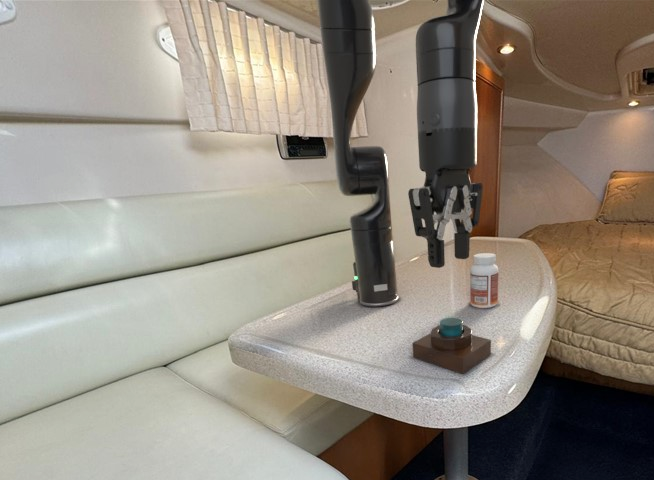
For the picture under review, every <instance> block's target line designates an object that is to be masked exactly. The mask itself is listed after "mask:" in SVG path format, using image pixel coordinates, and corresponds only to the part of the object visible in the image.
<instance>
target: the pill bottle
mask: <svg viewBox="0 0 654 480" xmlns="http://www.w3.org/2000/svg"><path fill="white" fill-rule="evenodd" d="M496 259H497V256H496V254H495V253H489V252H484V253H483V252H482V253H477V254H474V255H473V263H474V264H473V265H472V266H471V267H470V270H469V273H470V274H469V280H470V282H469V289H470V290H469V292H470V293H469V295H470V296H469V297H470V299H469V302H470V305H471V306H472V307H475V308H478V309H488V308H493V307H496V306H497V305H498V303H499V266H497V264H495V263H496V261H497V260H496Z"/></svg>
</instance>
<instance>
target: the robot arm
mask: <svg viewBox="0 0 654 480" xmlns="http://www.w3.org/2000/svg"><path fill="white" fill-rule="evenodd" d="M446 1H447V6H446V12H445V15H439V16H436V17H433V18H432V17H431V18H429V19H427V20H425V21H424V22H423V23H422V24H420V25H419V27H418V29H417V30H416V35H415V63H416V64H415V65H416V83H417V96H416V124H417V125H416V126H417V144H418V145H417V146H418V163H419V164H418V165H419V170H420V171H421V172H423V173H425V178H424V183H423V186H421V187H415V188H409V190H408V192H407V193H408V195H407V196H408V200H409V206H410V212H411V217H412V218H411V219H412V223H413V228H414V234H415V236H416V237H420V238H424V239H425V240H426V242H427V260H428V264H429V266H430V267H431V268H436V269H437V268H438V269H441V268H443V267H445V265H446V264H445V263H446V261H445V240H444V239H443V238H444V236H445V231H446V226H447V224H449V223H450V221H452V225H453V230H454V231H455V232H454V233H453V234H454V237H453V238H454V241H453V243H454V257H455V259H456V260H457V259H458V260H466V259H469V257H470V249H471V247H470V245H471V244H470V239H471V238H470V234H471V233H472V231H473V228H474V227H478V226H479V224H480V217H481V207H482V199H483V187H484V185H483V183H482V182H471V178H470V170H472V169H474V168H476V166H477V165H478V163H477V160H478V155H477V154H478V98H477V90H476V88H477V87H476V59H477V58H476V57H477V55H476V54H477V53H476V43H477V36H478V30H479V26H480V21H481V16H482V12H483V11H482V10H483V6H484V1H485V0H446ZM317 8H318V9H317V11H318V21H319V28H320V29H319V30H320V31H319V32H320V38H321V39H320V40H321V46H322V48H321V49H322V54H323V55H322V56H323V61H324V62H323V63H324V68H325V76H326V82H327V90H328V95H329V104H330V112H331V124H332V136H333V137H332V138H333V139H332V140H333V152H334V166H335V175H336V182H337V185H338V189H339V191H340V193H341V194H342V195H343V196H345V197H358V196H359V197H360V196H372V195H373V200H372V202H371V203H370V204H369V205H368V206H367V207H364V209H361V210H359V211H358V212H355V213H354V214H352V215H351V216H350V217H349V226H350V232H351V240H352V248H353V256H354V262H353V263H352V267H353V274H354V280H352V281H351V287H352V291H355V292H356V296H357V301H358V302H359V304H360V305H362V306H365V307H373V308H374V307H387V306H389V305H392V304H395V303H397V302H398V301H399V295H398V283H397V282H398V281H397V270H396V260H395V247H394V236H393V224H392V212H391V211H392V210H391V197H390V170H389V169H390V168H389V161H388V155H387V153H386V151H385V149H384V148H383V147H382V146H379V145H378V146H377V145H371V146H370V145H367V146H351V139H352V138H351V137H352V131H353V127H354V123H355V119H356V116H357V113H358V111H359V108H360V106H361V104H362V102H363V99H364V98H365V96H366V94H367V92H368V89H369V87H370V85H371V82H372V80H373V78H374V75H375V72H376V68H377V41H376V40H377V39H376V22H375V20H376V19H375V15H374V14H375V13H374V11H373V8H372V5H371V2H370V0H317ZM472 210H473V211H472ZM471 215H472V217H471ZM423 222H424V225H423ZM435 224H436V229H435Z"/></svg>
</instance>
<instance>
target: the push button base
mask: <svg viewBox="0 0 654 480" xmlns="http://www.w3.org/2000/svg"><path fill="white" fill-rule="evenodd" d="M491 352H492V339H489V338H485V337H481V336H477V335H473V329H472V328H471V327H469V326H468V325H465V324H463V333H462V334H461V335H458V336H444V335H441V334H440V324H439V325H437V326H434V327H433V328H432V329H431V331H430V333H428V334H427V335H425V336H423V337H421V338H419V339H416V340H415V341H413V342H412V354H413V355H412V356H413V358H414V359H416V360H420V361H423V362H426V363H428V364H431V365H435V366H438V367H441V368H444V369H446V370H450V371H452V372H454V373H455V372H456V373H458V374H461V375H464V374H466V373H467V372H468V371H470V370H471V369H473V368H474V367H475V366H477V365H478V364H480V363H481V362H483V361H484V360H486V359H487V358H489V356H491Z"/></svg>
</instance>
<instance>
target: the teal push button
mask: <svg viewBox="0 0 654 480" xmlns="http://www.w3.org/2000/svg"><path fill="white" fill-rule="evenodd" d="M463 322H464V321H463V319H461V318H458V317H446V318H443V319H441V320H439V325H440V334H441V335H444V336H458V335H461V334H462V333H463V325H464V323H463Z"/></svg>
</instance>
